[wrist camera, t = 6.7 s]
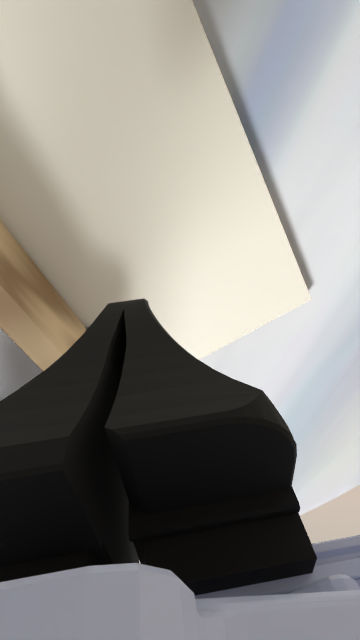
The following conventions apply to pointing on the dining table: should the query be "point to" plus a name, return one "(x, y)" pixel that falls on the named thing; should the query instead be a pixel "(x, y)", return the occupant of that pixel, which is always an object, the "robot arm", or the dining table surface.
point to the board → (137, 170)
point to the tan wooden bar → (33, 307)
